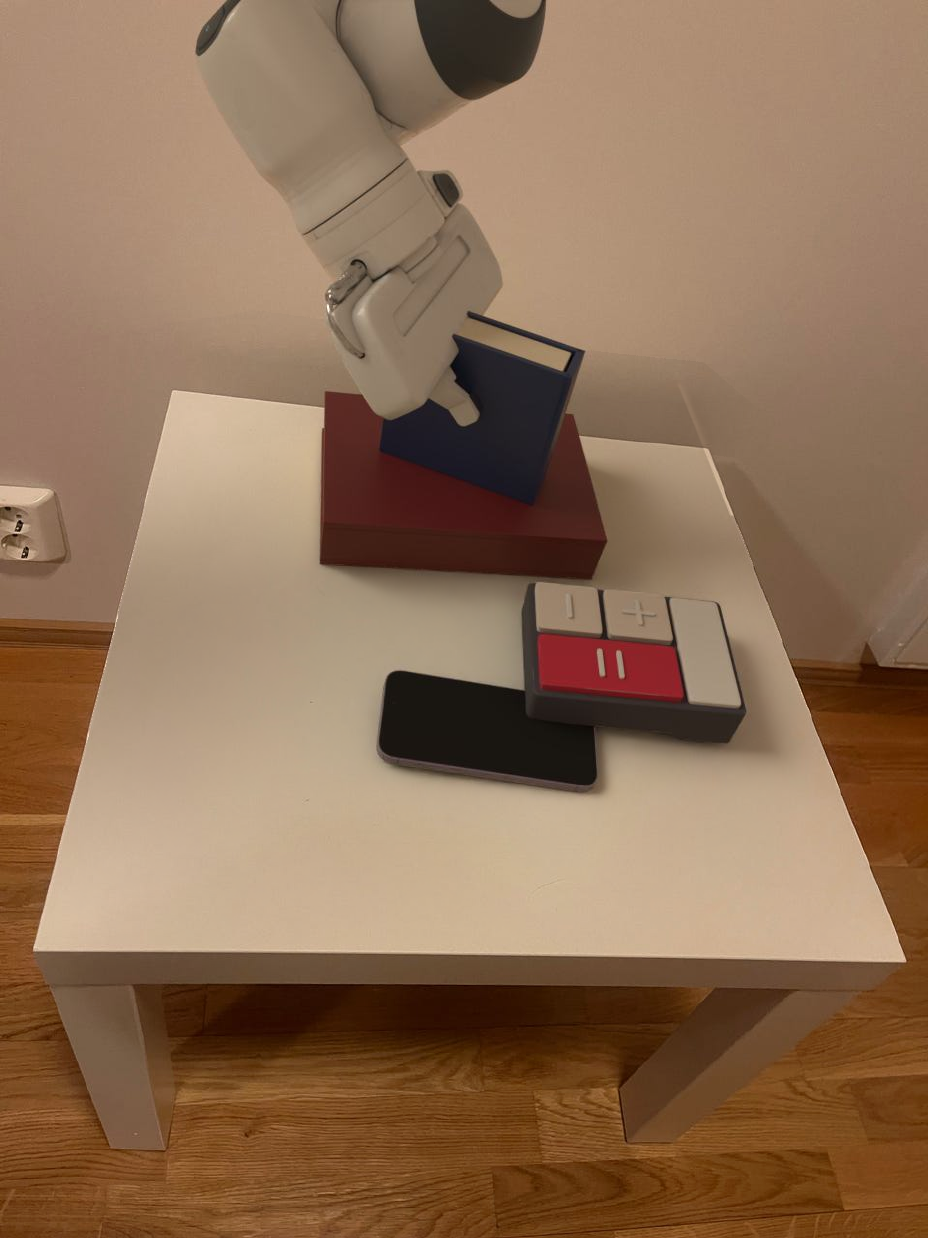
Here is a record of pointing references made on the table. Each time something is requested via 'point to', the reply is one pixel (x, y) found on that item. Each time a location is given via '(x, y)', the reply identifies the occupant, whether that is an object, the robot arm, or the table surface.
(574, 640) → the calculator
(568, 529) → the encyclopedia
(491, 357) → the hardcover book
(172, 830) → the table surface
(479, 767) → the smartphone
